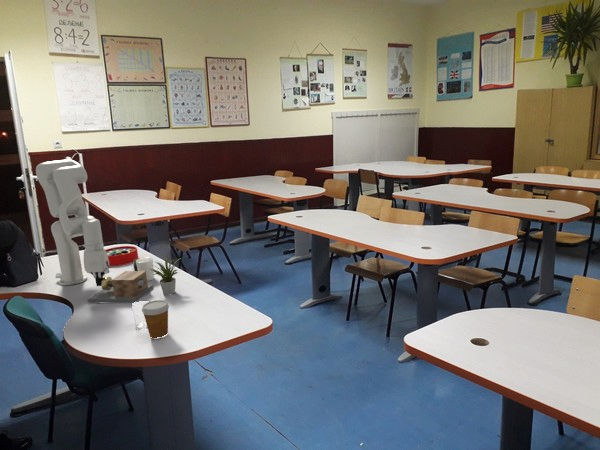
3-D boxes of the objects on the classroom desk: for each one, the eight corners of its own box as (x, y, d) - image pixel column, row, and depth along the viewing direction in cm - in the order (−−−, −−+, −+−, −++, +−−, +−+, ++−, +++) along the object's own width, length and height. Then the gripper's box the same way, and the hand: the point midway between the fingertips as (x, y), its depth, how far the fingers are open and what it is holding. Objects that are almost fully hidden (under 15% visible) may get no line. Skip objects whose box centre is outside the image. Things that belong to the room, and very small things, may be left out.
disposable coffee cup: (140, 338, 177) (135, 307, 174) (159, 327, 185) (155, 298, 182) (158, 343, 172) (154, 311, 169) (178, 332, 180) (174, 302, 177)
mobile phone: (140, 264, 251) (137, 256, 264) (133, 265, 250) (132, 257, 263) (141, 273, 252) (139, 265, 266) (135, 274, 251) (133, 266, 264)
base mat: (88, 302, 215) (87, 299, 215) (109, 287, 232) (109, 284, 232) (134, 302, 212) (134, 299, 211) (153, 287, 229) (152, 284, 228)
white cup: (158, 278, 242) (155, 259, 240) (143, 283, 236) (141, 263, 234) (149, 275, 247) (147, 256, 245) (135, 279, 242) (132, 260, 239)
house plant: (176, 284, 232) (172, 251, 228) (192, 290, 222) (188, 256, 218) (149, 293, 222) (144, 258, 218) (164, 300, 212) (160, 264, 209)
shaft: (102, 292, 220) (100, 279, 218) (109, 287, 225) (107, 275, 224) (139, 292, 217) (138, 279, 215) (146, 287, 222) (144, 275, 221)
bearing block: (114, 296, 216) (111, 279, 214) (127, 287, 227) (125, 271, 226) (135, 296, 214) (133, 279, 212) (147, 287, 226) (145, 270, 224)
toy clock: (143, 249, 275) (107, 258, 262) (144, 259, 276) (109, 268, 263) (128, 244, 289) (94, 251, 276) (129, 253, 291) (95, 261, 278)
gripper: (74, 248, 216) (80, 287, 220) (105, 249, 213) (110, 288, 218) (84, 244, 223) (90, 281, 227) (114, 244, 220) (119, 282, 225)
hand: (100, 285), depth 222 cm, fingers closed
